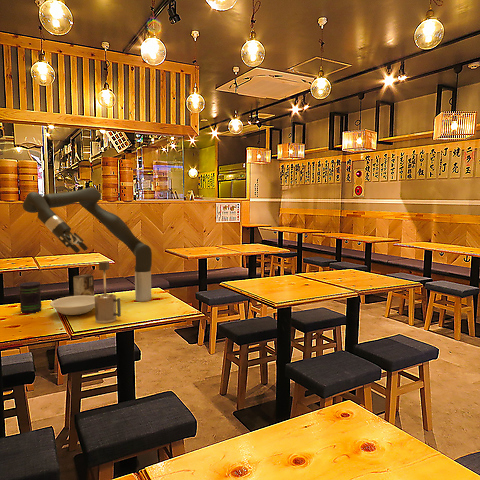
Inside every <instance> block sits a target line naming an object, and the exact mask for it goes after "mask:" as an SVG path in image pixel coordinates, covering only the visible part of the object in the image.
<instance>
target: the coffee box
mask: <svg viewBox="0 0 480 480" xmlns="http://www.w3.org/2000/svg"><path fill="white" fill-rule="evenodd" d="M72 279H73V281H72V282H73V296H80V295H89V296H95V280H94V275H93V274H90V273H84V274H81V275H75V276H73V277H72Z"/></svg>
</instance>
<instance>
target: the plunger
mask: <svg viewBox="0 0 480 480" xmlns="http://www.w3.org/2000/svg"><path fill="white" fill-rule="evenodd" d="M98 268H99V269H98V270H99V271H102V272H103V273H102V274H103V294H104V296H101V297H99V298H108V297H112V296H106V294H107V279H106V278H107V274H106V271H108V270H110V261H100V262H98Z"/></svg>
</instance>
